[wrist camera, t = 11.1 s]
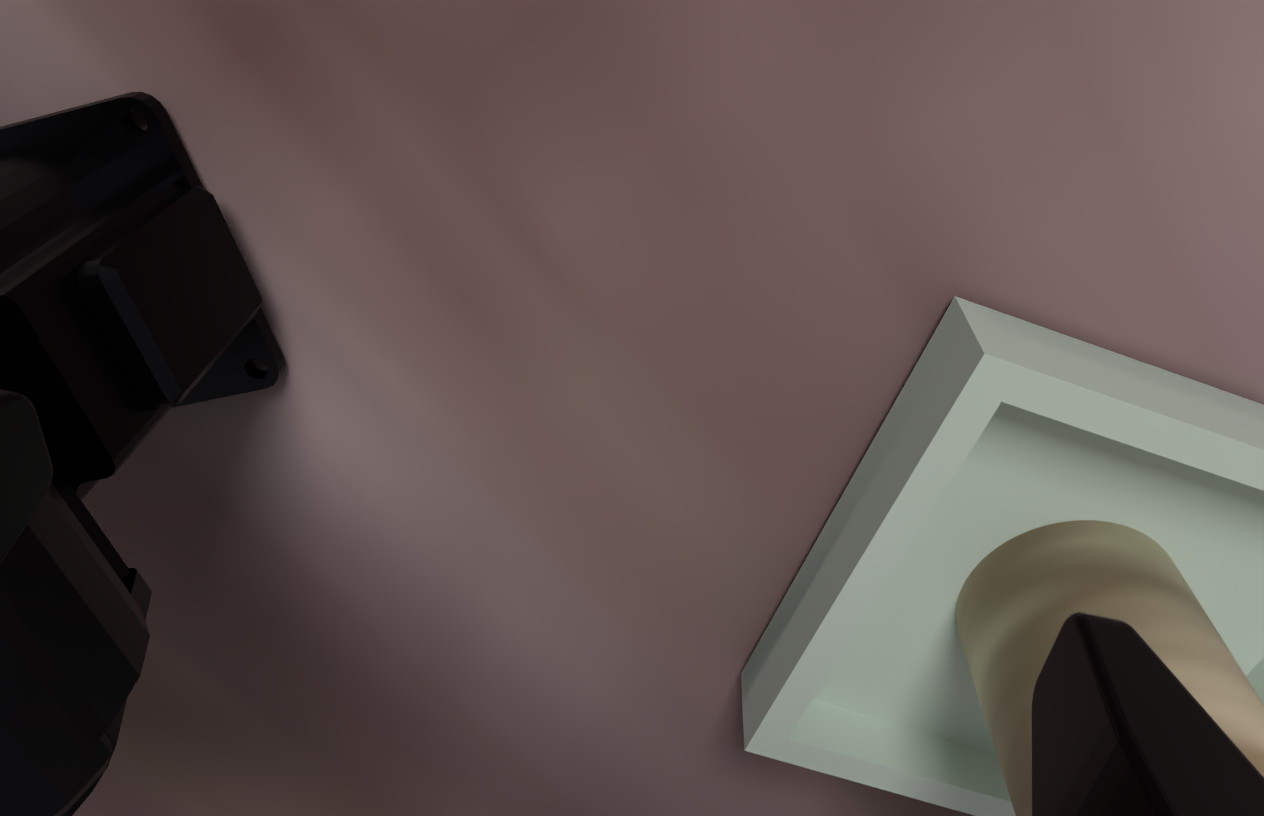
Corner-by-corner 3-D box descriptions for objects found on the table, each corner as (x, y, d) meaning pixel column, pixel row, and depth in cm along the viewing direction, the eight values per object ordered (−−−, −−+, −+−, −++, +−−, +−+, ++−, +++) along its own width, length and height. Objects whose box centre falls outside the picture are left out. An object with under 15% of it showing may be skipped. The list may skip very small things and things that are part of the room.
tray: (740, 674, 27) (744, 750, 24) (955, 296, 21) (984, 353, 19) (1130, 787, 28) (1166, 869, 26) (1433, 465, 22) (1512, 536, 20)
